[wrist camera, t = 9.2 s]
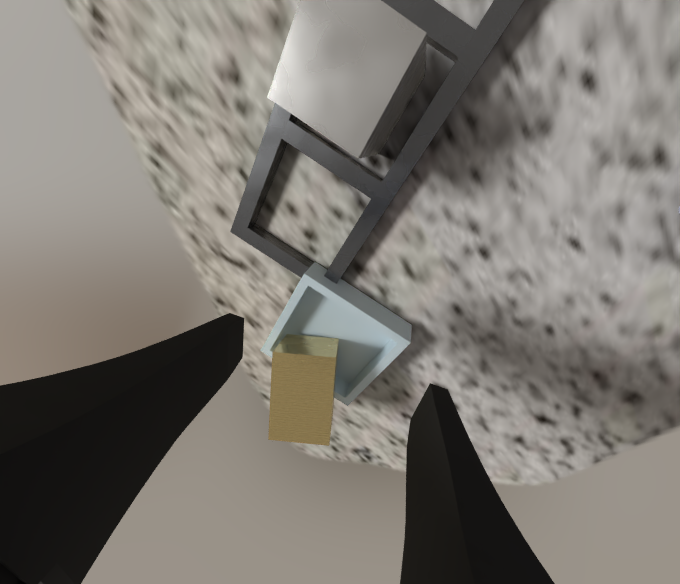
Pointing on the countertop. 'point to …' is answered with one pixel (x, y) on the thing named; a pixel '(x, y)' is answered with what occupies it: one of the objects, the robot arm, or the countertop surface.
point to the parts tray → (343, 329)
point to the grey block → (350, 70)
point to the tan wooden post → (303, 389)
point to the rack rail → (282, 129)
